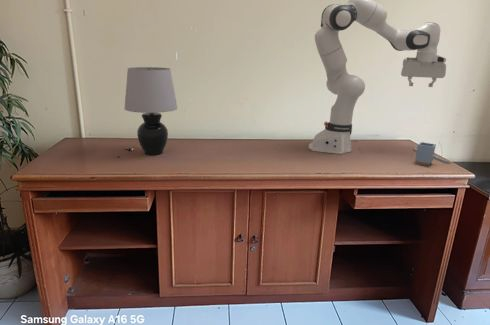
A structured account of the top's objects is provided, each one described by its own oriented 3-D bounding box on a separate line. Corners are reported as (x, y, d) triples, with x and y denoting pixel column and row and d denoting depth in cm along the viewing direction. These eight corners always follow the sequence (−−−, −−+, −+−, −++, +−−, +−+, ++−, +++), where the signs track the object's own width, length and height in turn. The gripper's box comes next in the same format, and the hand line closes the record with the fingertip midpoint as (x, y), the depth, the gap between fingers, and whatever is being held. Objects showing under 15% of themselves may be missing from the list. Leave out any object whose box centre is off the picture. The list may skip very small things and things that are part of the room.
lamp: (125, 161, 159) (118, 69, 147) (130, 147, 182) (124, 66, 169) (179, 159, 164) (176, 70, 152) (177, 145, 187) (175, 67, 174)
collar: (429, 163, 165) (433, 147, 162) (415, 160, 168) (418, 144, 166) (432, 160, 170) (435, 144, 167) (418, 157, 173) (421, 142, 171)
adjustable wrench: (450, 164, 171) (451, 161, 170) (438, 165, 170) (439, 161, 170) (421, 150, 195) (421, 146, 194) (410, 150, 194) (410, 146, 193)
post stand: (428, 166, 165) (431, 154, 163) (415, 164, 169) (417, 151, 167) (431, 163, 170) (433, 151, 168) (417, 161, 173) (420, 149, 171)
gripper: (405, 57, 173) (400, 86, 178) (449, 58, 171) (444, 88, 175) (401, 57, 179) (397, 85, 184) (444, 58, 177) (439, 86, 181)
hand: (420, 86), depth 179 cm, fingers open, 8 cm apart
